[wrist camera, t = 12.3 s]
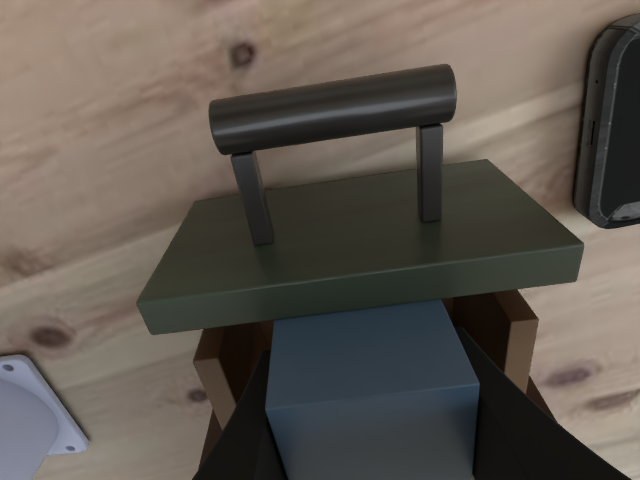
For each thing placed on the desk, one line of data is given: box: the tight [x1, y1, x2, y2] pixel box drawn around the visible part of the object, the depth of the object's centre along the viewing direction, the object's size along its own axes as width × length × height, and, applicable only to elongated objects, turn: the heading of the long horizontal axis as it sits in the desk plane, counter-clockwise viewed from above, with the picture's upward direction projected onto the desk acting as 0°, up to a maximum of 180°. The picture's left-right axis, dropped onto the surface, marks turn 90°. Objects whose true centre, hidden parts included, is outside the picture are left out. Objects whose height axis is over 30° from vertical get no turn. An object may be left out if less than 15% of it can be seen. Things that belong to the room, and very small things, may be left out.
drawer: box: [136, 64, 584, 430], centre depth 15 cm, size 17×11×6 cm
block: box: [265, 299, 480, 480], centre depth 11 cm, size 4×4×4 cm
